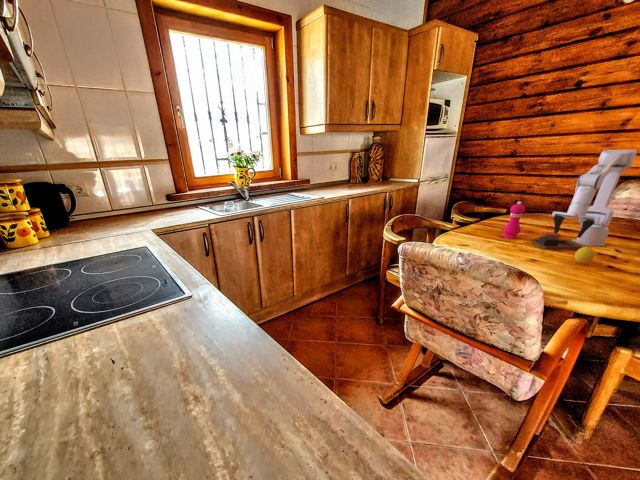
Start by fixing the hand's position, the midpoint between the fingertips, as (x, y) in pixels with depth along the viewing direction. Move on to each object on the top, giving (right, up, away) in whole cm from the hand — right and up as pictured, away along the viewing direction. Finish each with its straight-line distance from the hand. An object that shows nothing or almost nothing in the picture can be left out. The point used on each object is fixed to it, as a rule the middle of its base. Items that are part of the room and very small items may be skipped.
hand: (567, 235), depth 120 cm
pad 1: (+15, 0, +24) cm, 29 cm away
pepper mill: (0, +2, +31) cm, 31 cm away
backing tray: (+10, -4, +16) cm, 19 cm away
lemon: (+2, -13, -3) cm, 14 cm away
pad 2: (+6, -4, +16) cm, 18 cm away
